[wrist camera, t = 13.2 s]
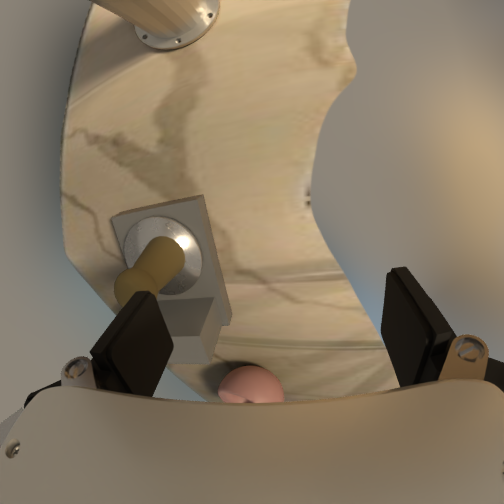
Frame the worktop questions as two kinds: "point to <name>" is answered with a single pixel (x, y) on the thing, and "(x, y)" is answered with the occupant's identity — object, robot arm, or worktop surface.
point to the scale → (197, 297)
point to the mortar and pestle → (250, 386)
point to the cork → (151, 269)
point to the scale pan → (181, 234)
